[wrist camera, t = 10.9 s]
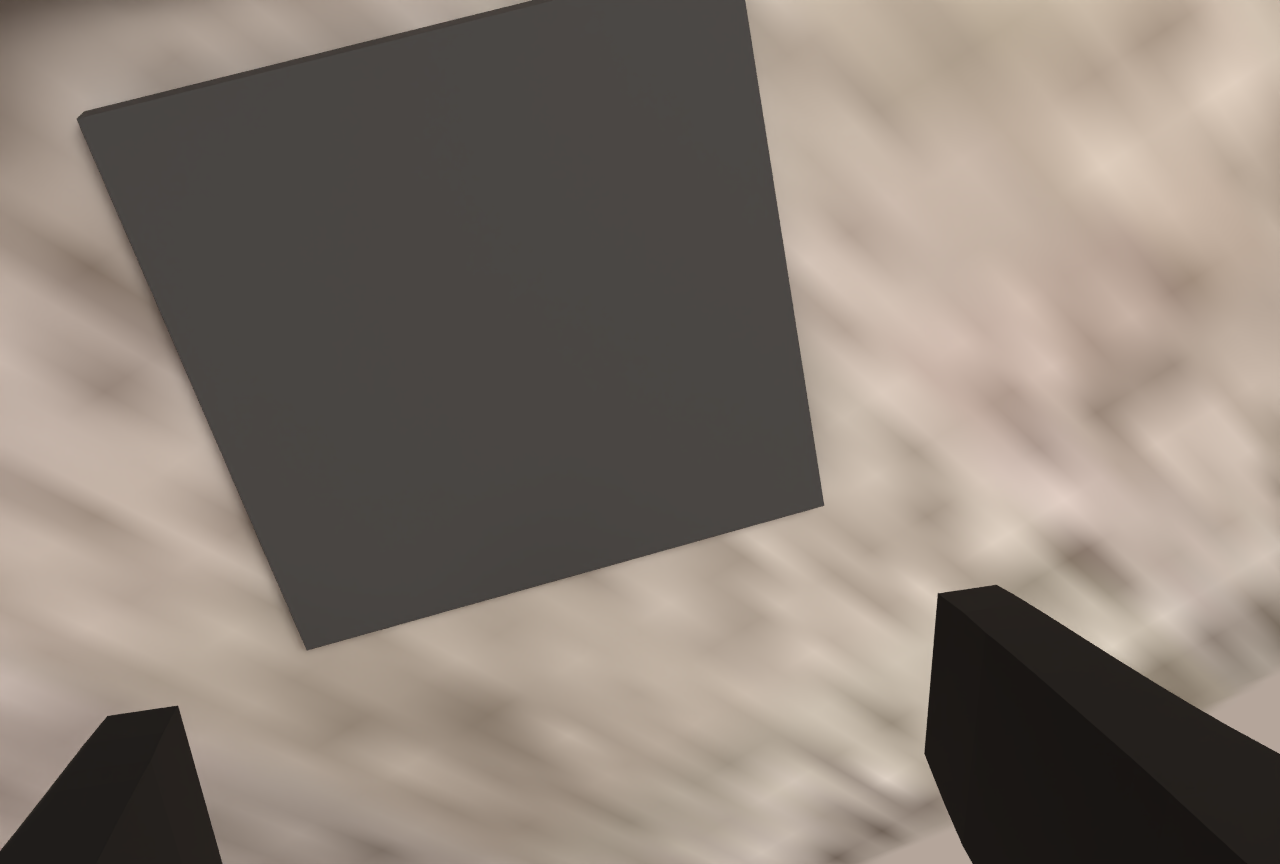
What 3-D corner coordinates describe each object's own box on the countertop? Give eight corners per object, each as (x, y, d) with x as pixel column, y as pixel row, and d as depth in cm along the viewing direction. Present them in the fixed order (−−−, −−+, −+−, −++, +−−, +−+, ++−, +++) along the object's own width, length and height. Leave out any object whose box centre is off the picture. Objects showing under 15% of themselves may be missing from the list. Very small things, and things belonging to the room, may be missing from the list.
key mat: (309, 634, 23) (306, 650, 22) (84, 111, 18) (77, 118, 18) (816, 492, 23) (824, 505, 23) (729, -48, 19) (737, -45, 18)
